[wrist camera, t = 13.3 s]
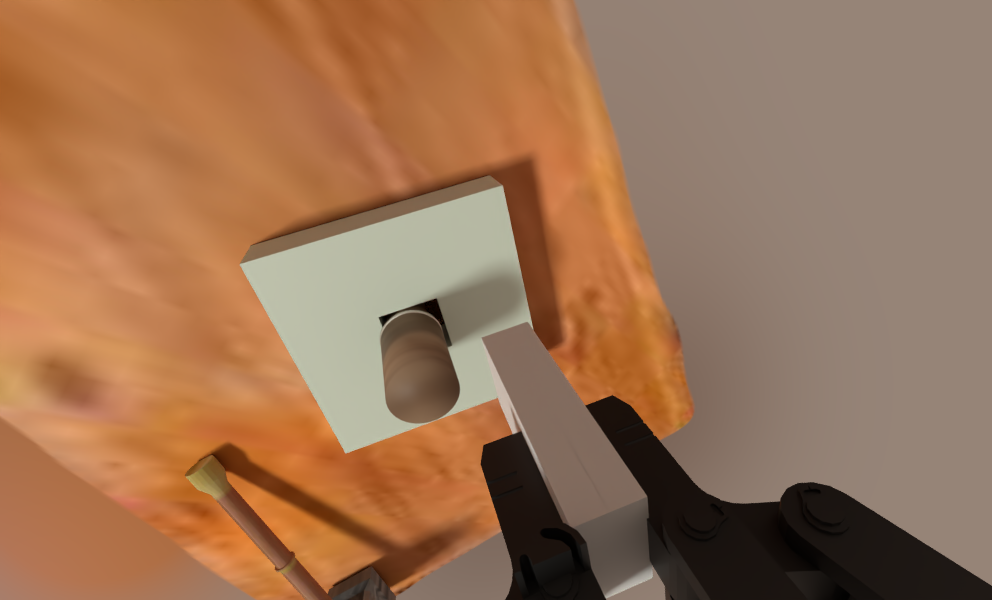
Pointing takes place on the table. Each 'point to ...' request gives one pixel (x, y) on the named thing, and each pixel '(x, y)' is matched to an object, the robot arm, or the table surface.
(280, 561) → the hammer
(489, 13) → the table surface
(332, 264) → the board
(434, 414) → the peg
